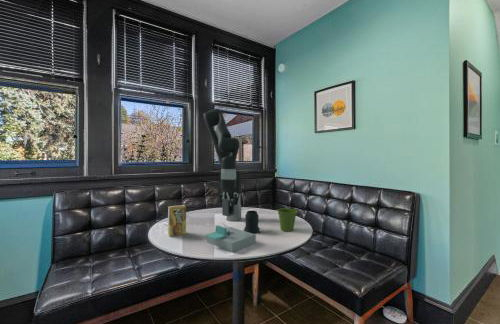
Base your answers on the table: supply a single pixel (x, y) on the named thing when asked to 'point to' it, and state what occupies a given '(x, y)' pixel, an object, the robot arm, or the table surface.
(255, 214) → the mug
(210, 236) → the shutter
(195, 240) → the table surface
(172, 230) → the candy box
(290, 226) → the plant pot
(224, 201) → the plug
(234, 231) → the socket plate
